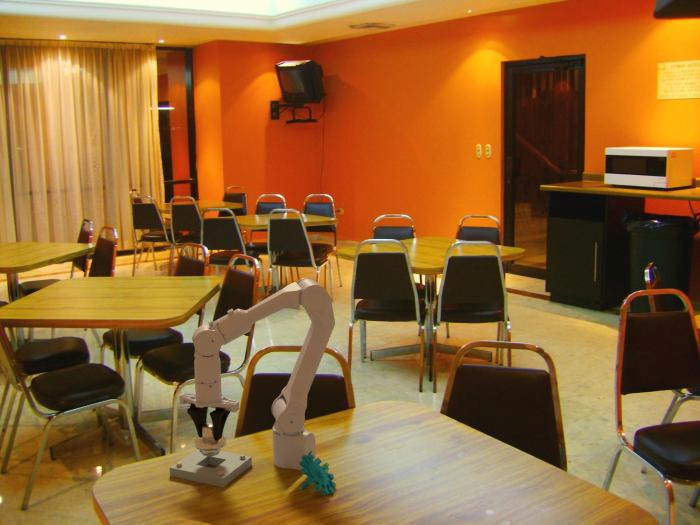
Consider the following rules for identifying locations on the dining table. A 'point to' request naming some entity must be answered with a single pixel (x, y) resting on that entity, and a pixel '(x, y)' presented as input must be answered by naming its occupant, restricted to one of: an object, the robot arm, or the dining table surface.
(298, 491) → the dining table surface
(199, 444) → the end cap
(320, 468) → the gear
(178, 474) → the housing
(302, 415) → the robot arm
